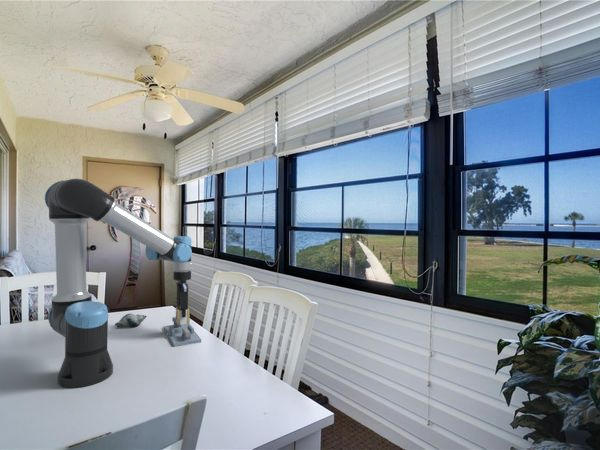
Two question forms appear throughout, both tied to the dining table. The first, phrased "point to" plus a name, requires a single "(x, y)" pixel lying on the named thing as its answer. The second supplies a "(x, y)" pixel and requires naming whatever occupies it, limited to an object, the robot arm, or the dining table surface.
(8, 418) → the dining table surface
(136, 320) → the seashell
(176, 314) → the block
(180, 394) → the dining table surface
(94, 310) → the robot arm
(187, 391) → the dining table surface
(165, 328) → the shaft bench
